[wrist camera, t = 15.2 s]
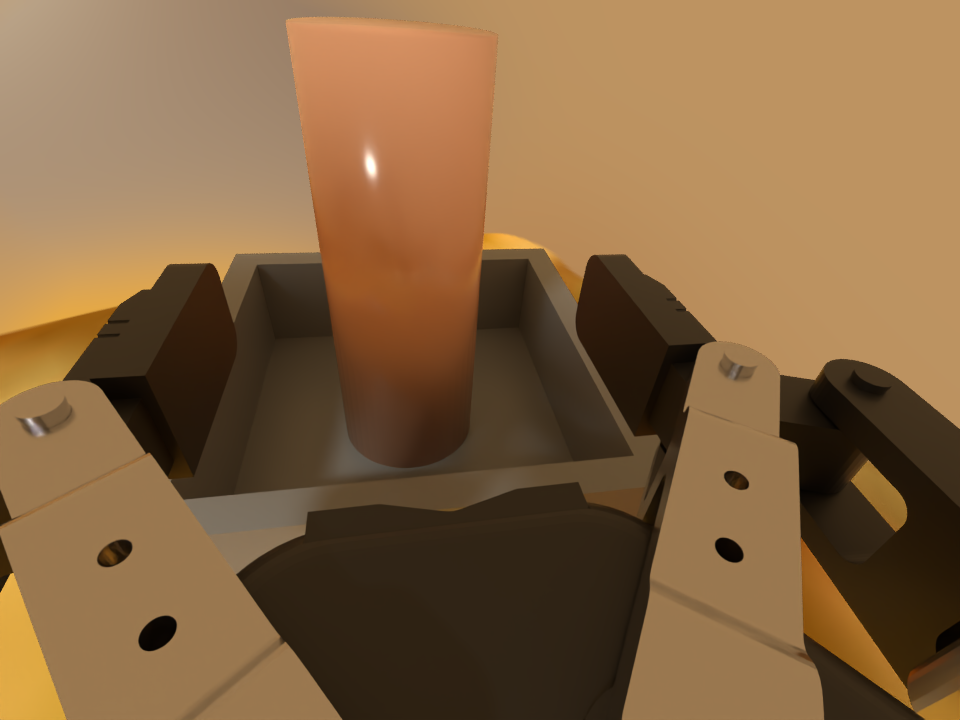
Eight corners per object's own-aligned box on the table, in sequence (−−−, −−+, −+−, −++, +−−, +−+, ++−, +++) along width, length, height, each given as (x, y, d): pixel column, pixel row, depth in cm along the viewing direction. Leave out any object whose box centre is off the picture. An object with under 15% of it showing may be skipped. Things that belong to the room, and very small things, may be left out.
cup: (343, 473, 20) (268, 28, 10) (349, 384, 24) (299, 13, 15) (479, 461, 21) (519, 43, 11) (461, 377, 25) (479, 25, 16)
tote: (162, 634, 15) (93, 548, 12) (258, 334, 27) (235, 254, 24) (642, 567, 18) (687, 482, 15) (532, 322, 30) (543, 248, 27)
